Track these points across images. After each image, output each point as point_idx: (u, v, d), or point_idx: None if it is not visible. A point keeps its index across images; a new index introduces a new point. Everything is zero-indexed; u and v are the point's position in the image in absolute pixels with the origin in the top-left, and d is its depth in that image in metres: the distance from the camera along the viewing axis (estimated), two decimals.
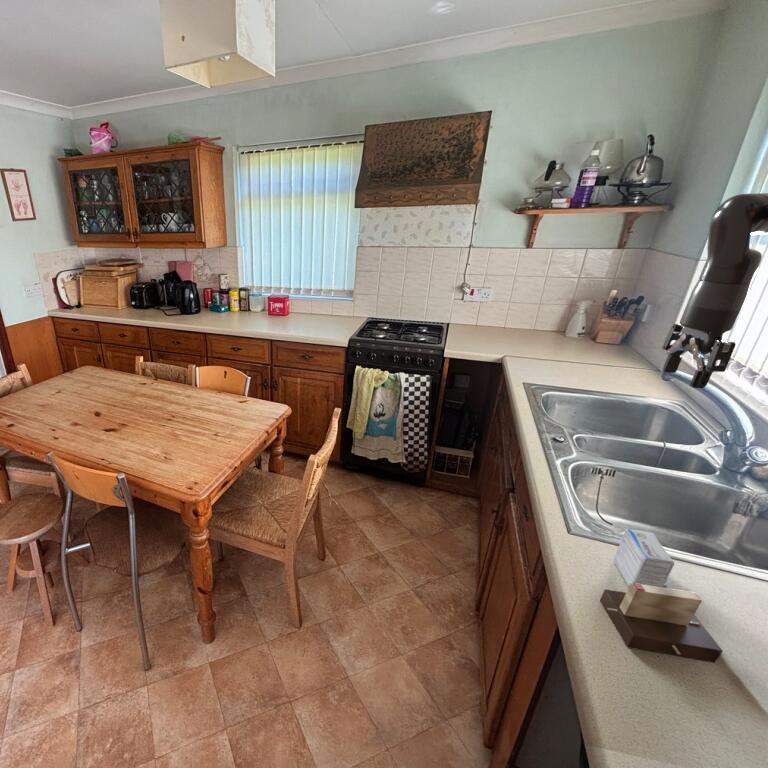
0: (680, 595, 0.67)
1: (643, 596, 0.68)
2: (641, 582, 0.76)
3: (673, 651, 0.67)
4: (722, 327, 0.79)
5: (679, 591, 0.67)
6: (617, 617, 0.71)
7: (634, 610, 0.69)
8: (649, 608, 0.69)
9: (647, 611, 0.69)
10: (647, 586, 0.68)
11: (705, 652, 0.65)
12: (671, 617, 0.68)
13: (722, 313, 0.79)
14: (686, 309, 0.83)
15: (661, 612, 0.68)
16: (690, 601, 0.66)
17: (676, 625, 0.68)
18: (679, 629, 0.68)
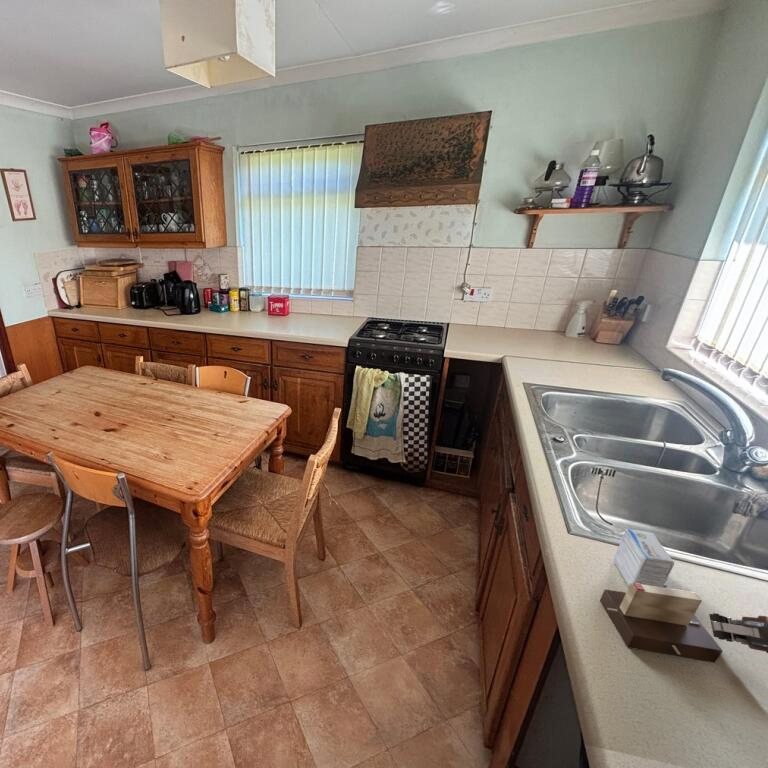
0: (680, 595, 0.67)
1: (643, 596, 0.68)
2: (641, 582, 0.76)
3: (673, 651, 0.67)
4: None
5: (679, 591, 0.67)
6: (617, 617, 0.71)
7: (634, 610, 0.69)
8: (649, 608, 0.69)
9: (647, 611, 0.69)
10: (647, 586, 0.68)
11: (705, 652, 0.65)
12: (671, 617, 0.68)
13: None
14: None
15: (661, 612, 0.68)
16: (690, 601, 0.66)
17: (676, 625, 0.68)
18: (679, 629, 0.68)
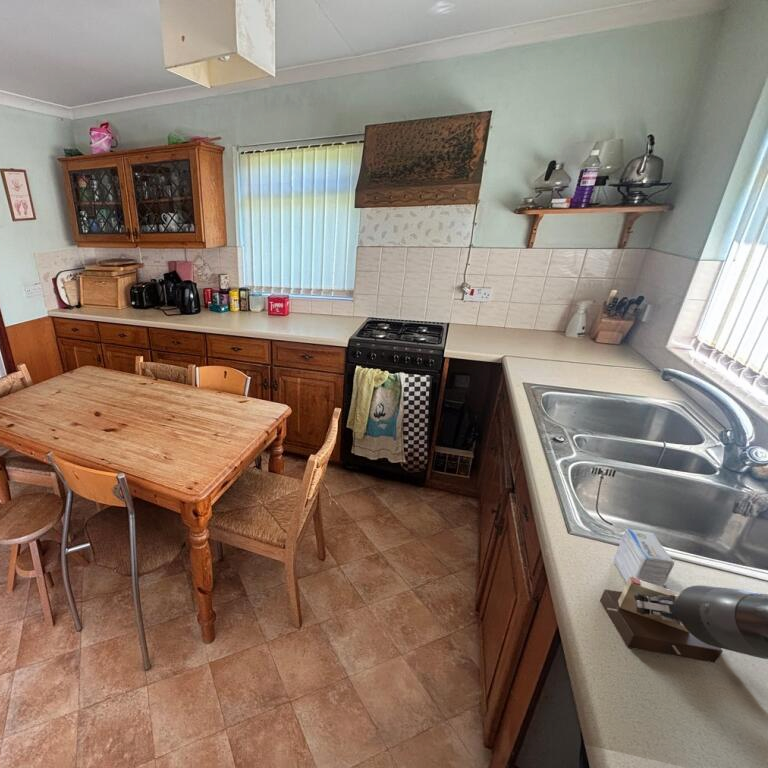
0: None
1: (639, 590, 0.69)
2: None
3: (673, 651, 0.67)
4: (681, 613, 0.57)
5: None
6: (617, 617, 0.71)
7: (630, 604, 0.70)
8: None
9: None
10: (646, 583, 0.69)
11: (705, 652, 0.65)
12: None
13: (695, 608, 0.55)
14: None
15: None
16: None
17: None
18: (679, 629, 0.68)
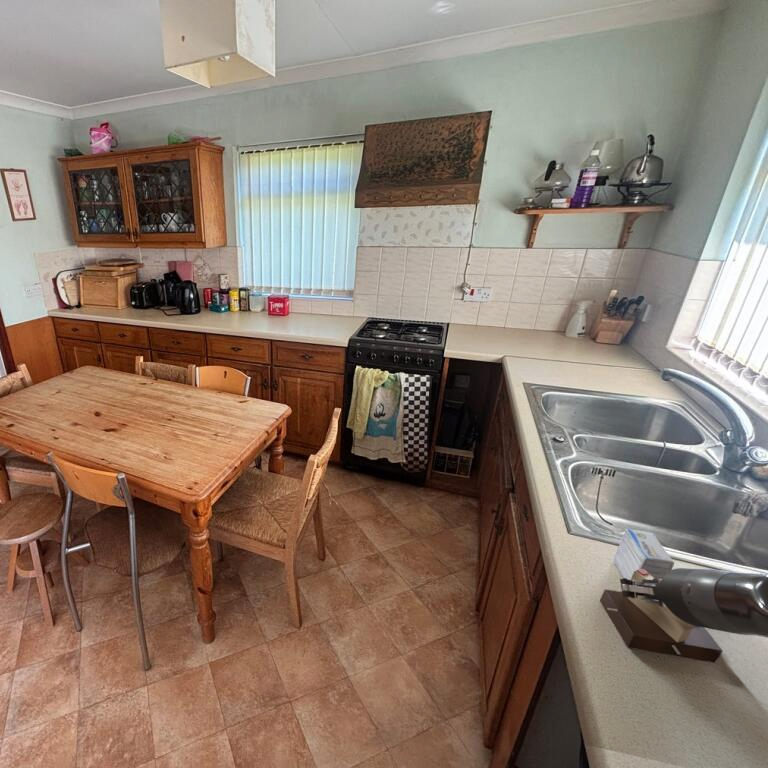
0: None
1: (639, 580, 0.71)
2: None
3: (673, 651, 0.67)
4: (663, 594, 0.59)
5: None
6: (617, 617, 0.71)
7: None
8: None
9: (642, 601, 0.71)
10: None
11: (705, 652, 0.65)
12: (662, 621, 0.68)
13: (677, 589, 0.57)
14: None
15: (654, 609, 0.69)
16: None
17: None
18: None
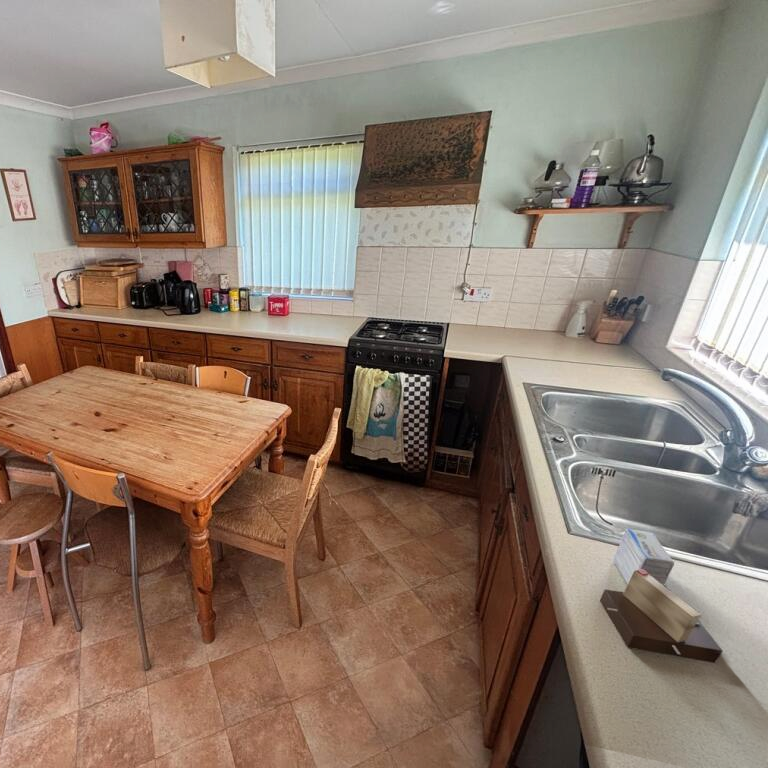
0: (674, 600, 0.66)
1: (639, 580, 0.71)
2: None
3: (673, 651, 0.67)
4: None
5: (682, 602, 0.66)
6: (617, 617, 0.71)
7: (631, 593, 0.72)
8: (644, 598, 0.70)
9: (642, 601, 0.71)
10: (653, 579, 0.70)
11: (705, 652, 0.65)
12: (663, 621, 0.68)
13: None
14: None
15: (654, 609, 0.69)
16: (680, 610, 0.65)
17: None
18: None
